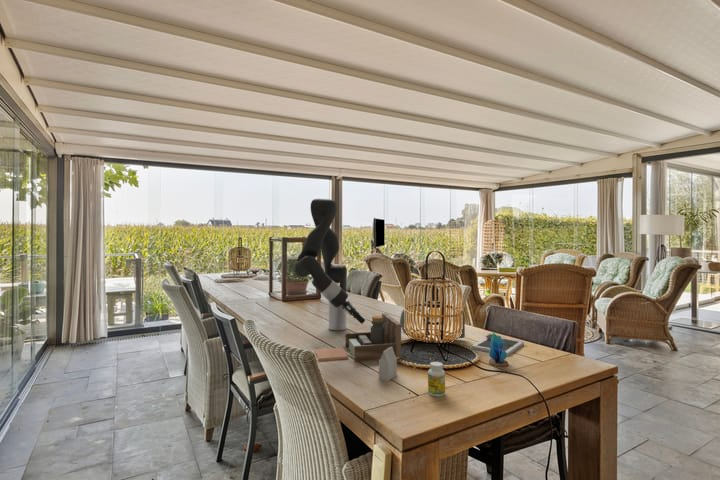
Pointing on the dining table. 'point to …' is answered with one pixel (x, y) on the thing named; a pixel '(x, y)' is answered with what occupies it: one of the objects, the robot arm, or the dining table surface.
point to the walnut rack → (375, 351)
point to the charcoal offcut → (364, 340)
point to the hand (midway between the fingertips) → (361, 319)
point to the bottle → (377, 330)
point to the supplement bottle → (436, 379)
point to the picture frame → (508, 346)
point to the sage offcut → (353, 343)
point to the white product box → (388, 365)
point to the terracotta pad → (331, 354)
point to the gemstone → (497, 352)
